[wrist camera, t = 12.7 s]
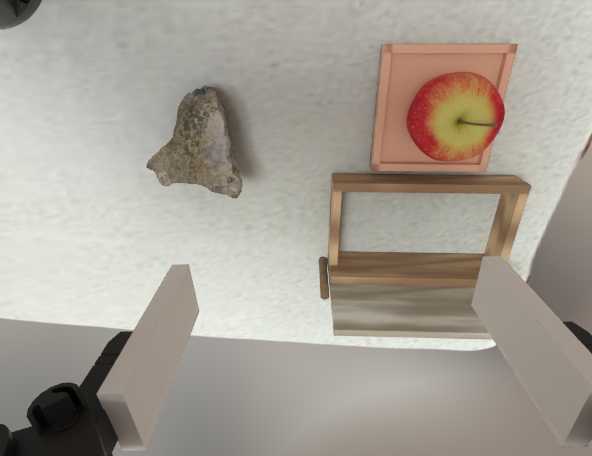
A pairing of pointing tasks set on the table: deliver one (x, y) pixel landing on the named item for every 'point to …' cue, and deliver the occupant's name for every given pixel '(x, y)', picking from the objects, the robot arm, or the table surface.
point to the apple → (455, 116)
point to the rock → (199, 147)
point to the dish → (405, 85)
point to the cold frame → (414, 265)
